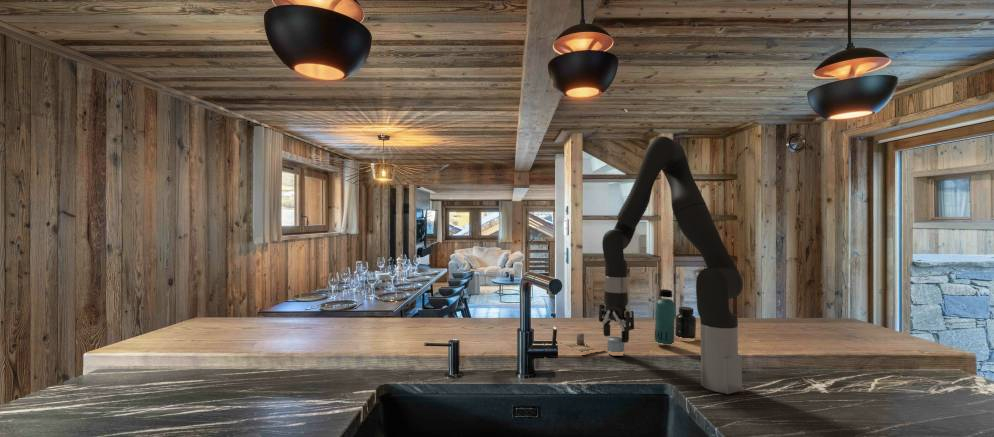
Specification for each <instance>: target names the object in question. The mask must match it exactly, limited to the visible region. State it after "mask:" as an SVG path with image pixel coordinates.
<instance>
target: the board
mask: <svg viewBox="0 0 994 437" xmlns="http://www.w3.org/2000/svg"><path fill="white" fill-rule="evenodd" d="M584 340H585V334H584V333H582V332H579V333H578V332H577V333H576V340H575V339H574V340H570V341H569V340H568V341H562V342H559V345H560V344H564V345H566V346H569V347H571V348H574V349H576V350H579V351H581V352H583V351H589V350H594V349H595V348H594V347H593V348H591V347H590V346H588V345H587V344H586V346H585V343H588V342H590V341H589V340H586V341H587V342H585V341H584ZM576 344H577V345H576Z"/></svg>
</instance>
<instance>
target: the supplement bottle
mask: <svg viewBox="0 0 994 437" xmlns="http://www.w3.org/2000/svg"><path fill="white" fill-rule="evenodd" d="M696 331H697V318H696V316H695V315H694V308H693V307H691V306H679V307H678V314H676V316H675V326H674V336H675V335H676V336H678V337H682V338H695V339H696V337H697V336H696V335H697V334H696Z"/></svg>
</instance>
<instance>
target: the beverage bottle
mask: <svg viewBox="0 0 994 437" xmlns="http://www.w3.org/2000/svg"><path fill="white" fill-rule="evenodd" d="M659 296H660V297H661V298H659V299H657V300H656V301H655V314H654V315H655V316H654V318H655V323H654V325H655V326H654V341H656V342H658V343H663V344H672V343H673V344H674V342H675V310H676V306H675V305H676V303H675V302H674V300H672V299H670V298H672V297H673V291H672V290H670V289H664V288H663V289H660V290H659ZM656 342H655V343H656ZM658 343H657V344H658ZM673 344H672V345H673Z"/></svg>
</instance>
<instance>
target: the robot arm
mask: <svg viewBox="0 0 994 437" xmlns="http://www.w3.org/2000/svg"><path fill="white" fill-rule="evenodd" d="M688 161H689V160H688V158H687V155H686V152H685V149H684V148H683V146H682V145H681V144H680V143H679V142H678V141H675V140H673V139H672V138H670V137H667V136H662V135H661V136H658V137H655V138H654V139H653V140H652V141H650V142H649V144H648V146H647V148H646V150H645V153H644V156H643V158H642V161H641V164H640V167H639V169H638V172H637V175H636V177H635V180H634V183H633V185H632V187H631V189H630V191H629V194H628V195H627V197H626V199H625V201H624V203H623V205H622V207H620V208H621V209H620V210H619V212H618V213H617V217H616V218H617V222H616V224H615V226H614V228H613V229H609V230H608V231H606V232H605V233H604V234H603V237H602V243H601V244H602V245H601V247H602V253H603V258H604V261H605V262H604V263H605V264H604V265H605V266H604V270H605V271H604V284H603V285H604V286H603V290H604V291H603V292H604V293H603V297H604V298H603V300H604V301H603V302H604V303H602V304H599V306H598V308H599V310H598V322H599V323H600V322H601V324H602V325H603V335H604V337H611V322H613V321H614V322H616V323H617V324H618V326H620V329H621V338H622V342H623V343H624V344H625V343H628V342H629V340H630V331H633V330H635V316H634V311H633V310H627V308H626V307H627V305H628V302H629V291H628V288H629V283H628V263H627V260H626V259H625V257H624V255H625V254H624V250H625V249H626V248H627V247H628V246H629V245H630V243H631V241H632V239H633V237H634V234H635V231H636V229H637V226H638V225H639V223H640V221H641V220H642V218H643V216H644V215H645V213H646V211H647V208H648V206H649V203H650V200H651V196H652V190H653V186H654V184H655V181H656V180H657V178H658V176H659V174H660V173H661V171H662V173H663V175H664V177H665V178H666V180H667V182H668V185H669V189H670V196H671V197H670V199H671V200H670V202H671V209H672V211H673V216H674V218H675V220H676V222H677V225H678V228H679V229H680V231H681V233H682V235H684V236H685V238H686V239H687V240H688V241H689V242H690V243H691V244H692V246H694V248H696V249H697V251H698V253H699V254H700V255H701V257H702V259H703V261H704V262H705V266H706V267H704V268H702V269H701V270H700V271H699V273H698V274H697V276H696V281H695V294H696V295H695V296H696V297H695V298H696V309H697V314H698V316H699V319H700V320H699V321H700V384H701V386H702V387H703V388H704V389H706V390H709V391H712V392H715V393H716V392H717V393H721V394H722V393H723V394H726V395H729V394H733V393H737V392H741V391H743V377H742V376H743V374H742V373H743V364H742V363H743V361H742V360H743V358H742V355H741V354H739V336H738V335H739V334H738V333H739V332H738V330H739V328H738V327H739V325H738V322H739V321H738V320H739V319H738V316H737V315H736V314H735V313H733V312H731V310H730V301H729V300H730V299H734V298H737V297H738V296H740V295H741V293H742V292H743V290H744V289H743V287H744V283H743V279H742V276H741V273H740V271H739V270H738V268H737V265H736V264H735V263H734V260H733V259H732V258H731V255H730V254H729V253H728V250H727V248H726V246H725V245H724V242H723V240H722V238H721V236H720V233H719V231H718V229H717V227H716V225H715V223H714V222H715V221H714V220H713V218H712V215H711V212H710V210H709V207H708V206H707V204H706V201H705V198H704V197H703V195H702V193H701V191H700V189H699V186H698V184H697V183H696V181H695V179H694V176H693V175H692V172H691V169H690V166H689V163H688Z"/></svg>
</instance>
